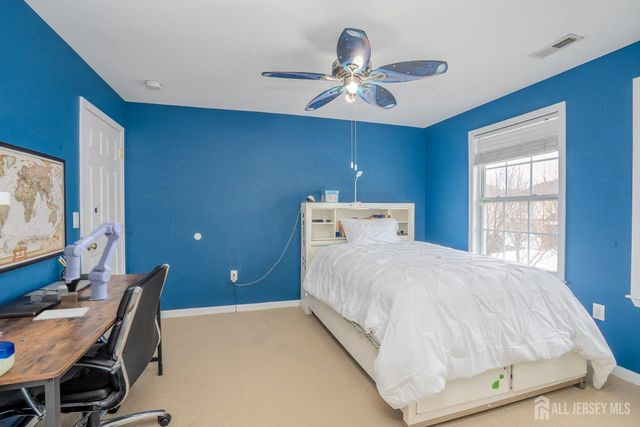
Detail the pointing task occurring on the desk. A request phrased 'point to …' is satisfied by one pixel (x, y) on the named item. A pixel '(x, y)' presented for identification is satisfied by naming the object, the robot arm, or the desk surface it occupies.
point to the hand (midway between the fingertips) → (71, 294)
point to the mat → (61, 314)
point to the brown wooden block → (69, 300)
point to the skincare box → (62, 291)
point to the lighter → (39, 297)
